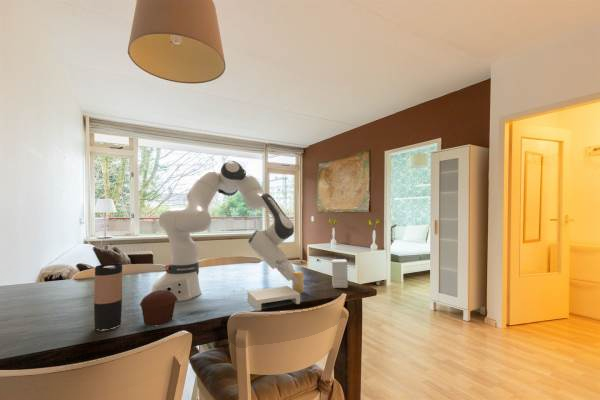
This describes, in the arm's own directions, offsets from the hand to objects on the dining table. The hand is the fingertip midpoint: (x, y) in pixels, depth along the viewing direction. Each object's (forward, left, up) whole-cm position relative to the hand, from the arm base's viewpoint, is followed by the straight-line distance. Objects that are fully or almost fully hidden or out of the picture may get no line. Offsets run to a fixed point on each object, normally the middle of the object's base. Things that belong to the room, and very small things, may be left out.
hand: (298, 280), depth 130 cm
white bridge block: (-15, -8, -5) cm, 18 cm away
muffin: (-57, -8, -6) cm, 58 cm away
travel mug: (-72, -6, -5) cm, 73 cm away
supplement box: (+23, 0, -6) cm, 23 cm away
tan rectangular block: (0, 0, -5) cm, 5 cm away
